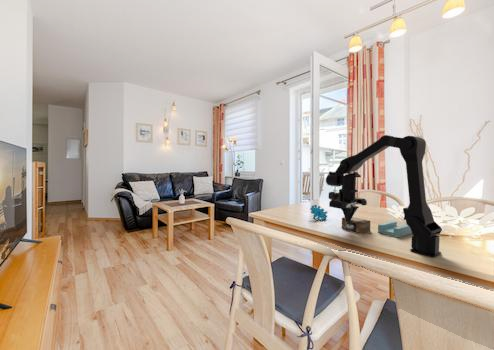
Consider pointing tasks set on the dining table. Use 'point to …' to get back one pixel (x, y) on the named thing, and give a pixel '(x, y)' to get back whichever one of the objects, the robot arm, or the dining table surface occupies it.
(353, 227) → the axle
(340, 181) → the robot arm
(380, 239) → the dining table surface
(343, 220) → the bearing block
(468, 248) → the dining table surface
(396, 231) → the cradle
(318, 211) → the gear
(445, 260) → the dining table surface
